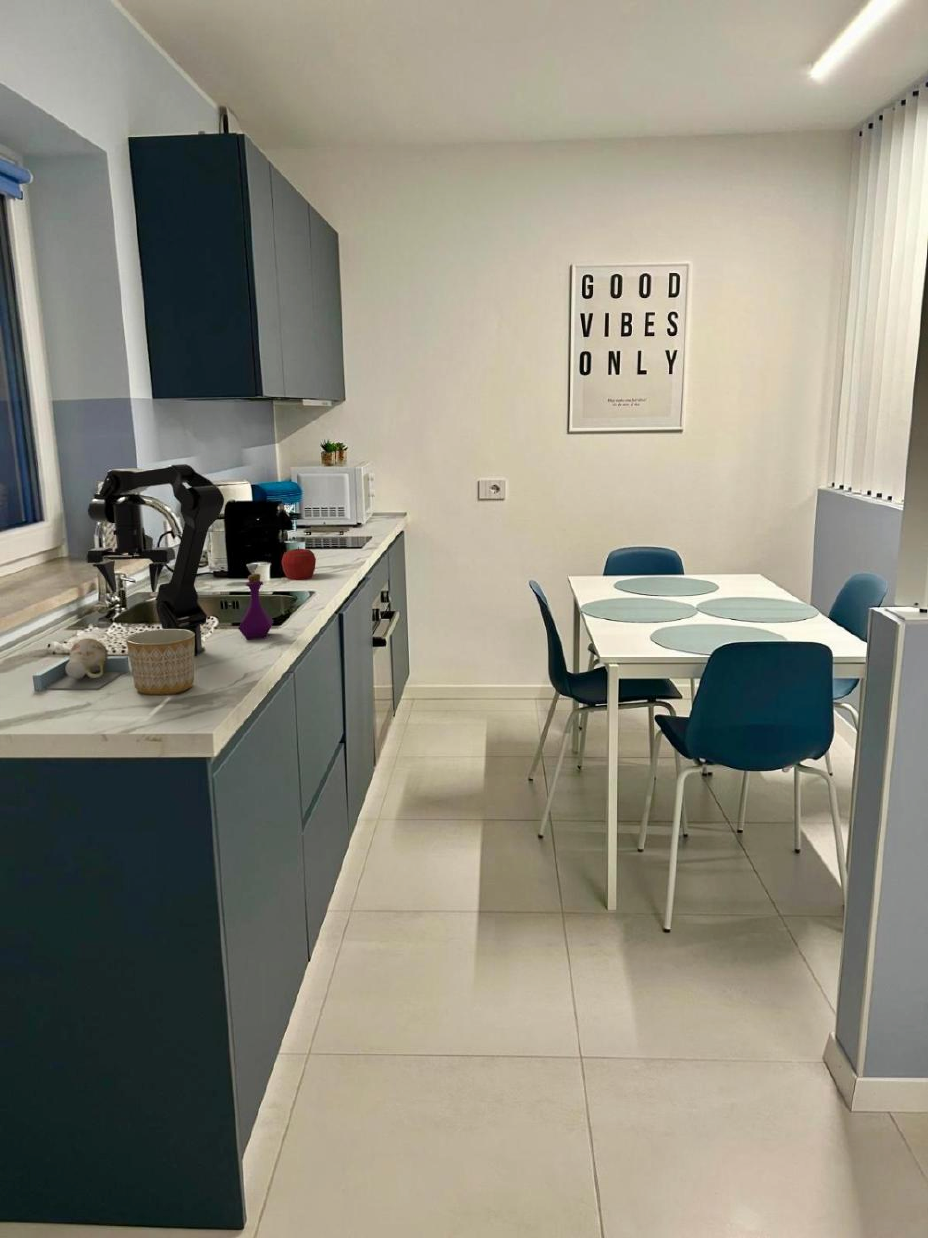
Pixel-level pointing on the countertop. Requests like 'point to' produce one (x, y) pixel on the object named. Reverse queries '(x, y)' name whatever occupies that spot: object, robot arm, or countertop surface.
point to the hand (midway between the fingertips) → (134, 592)
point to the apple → (298, 564)
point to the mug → (86, 659)
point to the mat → (85, 682)
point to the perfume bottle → (255, 610)
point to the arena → (58, 672)
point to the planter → (162, 660)
